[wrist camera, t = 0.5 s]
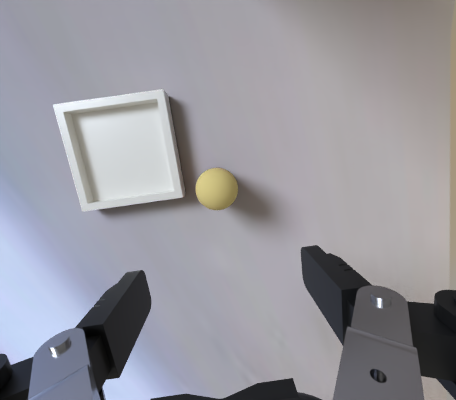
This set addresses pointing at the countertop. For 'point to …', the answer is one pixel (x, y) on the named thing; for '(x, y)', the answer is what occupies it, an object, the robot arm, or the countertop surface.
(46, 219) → the countertop surface
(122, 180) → the tray
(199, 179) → the ball
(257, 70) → the countertop surface
